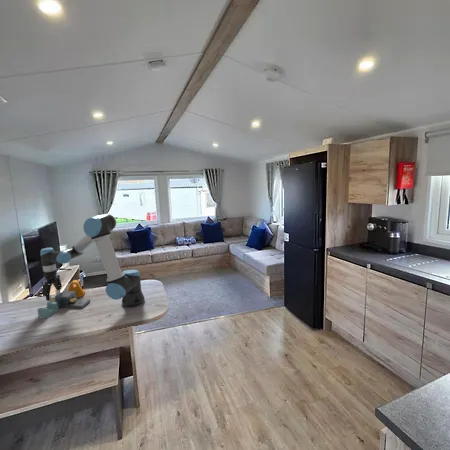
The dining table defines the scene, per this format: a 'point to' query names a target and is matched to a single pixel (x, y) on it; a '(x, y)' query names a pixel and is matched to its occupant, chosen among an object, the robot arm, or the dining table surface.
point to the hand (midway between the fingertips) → (54, 301)
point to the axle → (72, 300)
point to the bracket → (76, 288)
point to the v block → (48, 310)
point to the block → (64, 300)
